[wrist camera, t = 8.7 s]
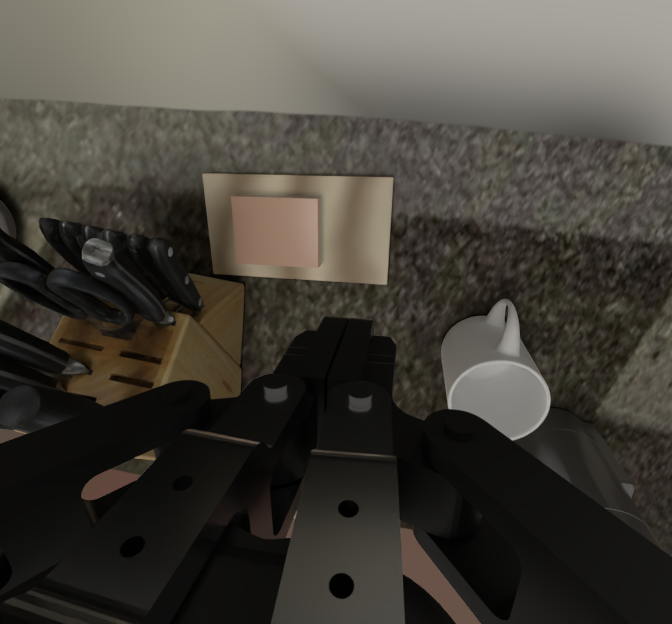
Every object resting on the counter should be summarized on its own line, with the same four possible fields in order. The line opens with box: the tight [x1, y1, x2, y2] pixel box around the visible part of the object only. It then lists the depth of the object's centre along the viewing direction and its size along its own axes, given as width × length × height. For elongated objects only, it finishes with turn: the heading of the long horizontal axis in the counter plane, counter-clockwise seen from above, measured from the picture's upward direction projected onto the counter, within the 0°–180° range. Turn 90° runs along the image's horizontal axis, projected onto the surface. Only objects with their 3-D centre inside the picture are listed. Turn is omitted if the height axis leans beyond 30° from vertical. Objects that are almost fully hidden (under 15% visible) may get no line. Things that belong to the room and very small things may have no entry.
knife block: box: [0, 218, 244, 460], centre depth 37 cm, size 11×35×31 cm, turn 172°
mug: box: [441, 299, 551, 440], centre depth 39 cm, size 9×12×11 cm
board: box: [202, 173, 394, 285], centre depth 43 cm, size 20×11×1 cm, turn 90°
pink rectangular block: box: [231, 194, 322, 268], centre depth 42 cm, size 2×7×9 cm
